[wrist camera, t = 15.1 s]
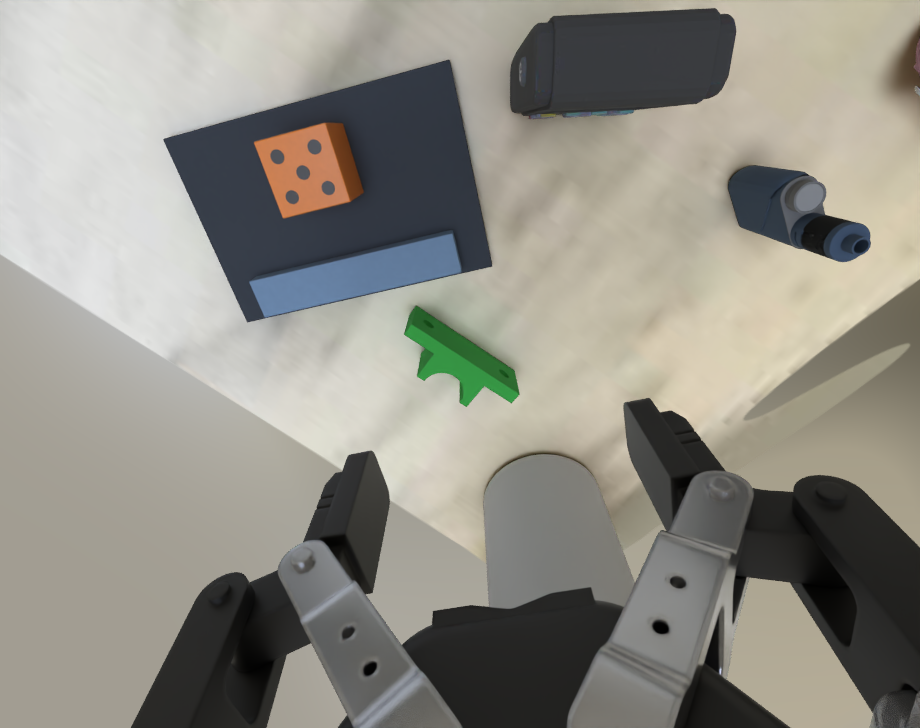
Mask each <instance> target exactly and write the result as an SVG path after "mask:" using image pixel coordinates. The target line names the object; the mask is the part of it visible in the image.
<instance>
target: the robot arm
mask: <svg viewBox="0 0 920 728" xmlns="http://www.w3.org/2000/svg"><path fill="white" fill-rule="evenodd" d="M624 418H625V428H626V438H627V446H628V451H629V455H630V458H631V461H632V463H633V465H634V467H635V469H636V471H637V473H638V475H639V477H640V479H641V481H642V483H643V485H644V487H645V489H646V491H647V493H648V495H649V497H650V499H651V501H652V503H653V505H654V507H655V509H656V511H657V513H658V515H659V517H660V519H661V521H662V523H663V525H664V527H665V529H666V531H664V530H661V531H660V532H659V533H658V535H657V537H656V539H655V541H654V543H653V545H652V548H651V550H650V552H649V554H648V556H647V559H646V561H645V563H644V565H643V567H642V569H641V572H640V574H639V576H638V578H637V580H636V582H635V584H634V587H633V589H632V591H631V593H630V595H629V597H628V600H627V602H626V604H625V606H624V607H623V606H621V605H617V604H614V603H611V602H606V601H599V600H595V599H594V596H593V592H592V589H591V587H587V588H581V589H574V590H568V591H561V592H555V593H550V594H548V595H545V596H543V597H540V598H538V599H535V600H533V601H530V602H528V603H525V604H523V605H520V606H518V607H515V608H512V609H505V608H494V607H484V606H483V607H482V606H473V605H470V606H463V607H457V608H450V609H444V610H437V611H433V619H432V625H431V626H428V627H426V628H425V629H423V630H421V631H419V632H418V633H416V634H415V635H413V636H412V637H410V638H409V639H408V640H407V641H406V642H405V643H403V645H401V644H400V642H399V641H398V639H397V638H396V636H395V635H394V634H393V632H392V631H391V630H390V628H389V627H388V626H387V624H386V622H385V621H384V620H383V618H382V617H381V615H380V614H379V613H378V611H377V610H376V609H375V607H374V606H373V604H372V603H371V602H370V600H369V599H368V598H367V596H366V595H365V594H370V593H373V588H374V583H375V578H376V572H377V567H378V562H379V557H380V552H381V547H382V542H383V536H384V531H385V526H386V521H387V516H388V510H389V504H390V499H389V491H388V487H387V485H386V482H385V479H384V477H383V474H382V472H381V469H380V466H379V464H378V461H377V459H376V456H375V454H374V452H373V451H367V452H361V453H356V454H351V455H349V456H348V457H347V460H346V463H345V465H344V468H343V471H342V472H339V473H335V474H334V475H333V477H332V478H331V479H330V480H329V481H328V482H327V483H326V485H325V487H324V489H323V492H322V494H321V499H320V500H319V502H318V505H317V509H316V510H315V513H314V515H313V518H312V520H311V523H310V526H309V528H308V531H307V534H306V536H305V539H304V541H303V543H301V544H299V545H297V546H295V547H294V548H292V549H291V550H290V551H289V552H288V553H287V554H286V555H285V556H284V557H283V558H282V560H281V562H280V564H279V566H278V570H277V571H275V572H273V573H271V574H268V575H266V576H264V577H261V578H259V579H257V580H254V581H252V582H250V583H249V581H248V579H247V578H246V576H245V575H244V574H242V573H238V572H234V573H229V574H226V575H223V576H221V577H219V578H217V579H216V580H214V581H213V582H211V583H210V584H209V585H208V586H206V587H205V588H204V589H203V590H202V592H201V593H200V594H199V596H198V597H197V599H196V600H195V602H194V604H193V606H192V608H191V610H190V612H189V614H188V616H187V618H186V620H185V622H184V624H183V626H182V628H181V630H180V632H179V634H178V636H177V638H176V640H175V642H174V644H173V646H172V648H171V650H170V651H169V654H168V655H167V658H166V659H165V661H164V663H163V665H162V667H161V669H160V671H159V673H158V675H157V677H156V679H155V681H154V683H153V685H152V687H151V689H150V691H149V693H148V695H147V697H146V699H145V701H144V703H143V705H142V707H141V709H140V711H139V713H138V715H137V717H136V719H135V721H134V723H133V725H132V726H131V728H266V727H267V723H268V720H269V716H270V712H271V709H272V705H273V702H274V698H275V695H276V691H277V688H278V684H279V680H280V677H281V673H282V669H283V666H284V662H285V659H286V655H287V654H289V653H291V652H293V651H295V650H297V649H299V648H301V647H303V646H306V645H308V644H310V643H311V644H312V646H313V648H314V649H315V652H316V654H317V655H318V657H319V659H320V661H321V663H322V665H323V667H324V669H325V671H326V673H327V675H328V677H329V679H330V681H331V683H332V685H333V687H334V689H335V691H336V693H337V695H338V697H339V699H340V701H341V703H342V705H343V707H344V709H345V711H346V713H347V716H346V717H345V719H344V720H343V721H342V723H341V724H340V725H339V727H338V728H790V727H789V726H787V725H786V724H785V723H783V722H782V721H781V720H779V719H778V718H777V717H775V716H774V715H773V714H771V713H770V712H769V711H768V710H766V709H765V708H764V707H762V706H761V705H760V704H758V703H757V702H756V701H754V700H753V699H752V698H750V697H749V696H748V695H746V694H745V693H743V692H742V691H741V690H740V689H738V688H737V687H736V686H734V685H733V684H732V683H730V682H729V681H728V680H726V679H727V675H728V670H729V665H730V659H731V653H732V646H733V640H734V635H735V631H736V627H737V623H738V620H739V615H740V612H741V608H742V604H743V600H744V597H745V593H746V589H747V585H748V582H749V578H750V577H751V578H758V579H759V578H760V579H767V580H775V581H783V582H790V583H791V585H792V587H793V588H794V590H795V591H796V593H797V594H798V596H799V597H800V599H801V600H802V602H803V604H804V605H805V607H806V608H807V610H808V612H809V613H810V615H811V616H812V618H813V620H814V621H815V623H816V624H817V626H818V627H819V629H820V630H821V632H822V634H823V635H824V637H825V638H826V640H827V642H828V643H829V644H830V646H831V648H832V649H833V651H834V653H835V654H836V656H837V657H838V659H839V660H840V662H841V664H842V665H843V667H844V668H845V670H846V671H847V673H848V674H849V676H850V678H851V679H852V681H853V682H854V684H855V686H856V687H857V689H858V690H859V692H860V693H861V695H862V697H863V698H864V700H865V701H866V703H867V704H868V706H869V708H870V709H871V711H872V712H873V716H872V720H871V725H870V728H920V547H919V546H918V545H917V544H916V543H915V542H914V541H913V540H912V539H911V538H910V537H909V536H908V535H907V534H906V533H905V532H904V531H903V530H902V529H901V528H900V527H899V526H898V525H897V524H896V523H895V522H894V521H893V520H892V519H891V518H890V517H889V516H888V515H887V514H886V513H885V512H884V511H883V510H882V509H881V508H880V507H879V506H878V505H877V504H876V503H875V502H874V501H873V500H872V499H871V498H870V497H869V496H868V495H867V494H866V493H865V492H864V491H863V490H862V489H861V488H859V487H858V486H856V485H855V484H853V483H851V482H849V481H846V480H843V479H840V478H837V477H832V476H824V475H815V476H808V477H805V478H802V479H801V480H799V481H798V482H797V483H796V484H795V486H794V490H793V492H784V491H768V490H760V489H755V488H752V486H751V485H750V484H749V483H748V482H747V481H746V480H745V479H743V478H742V477H740V476H738V475H736V474H733V473H730V472H726V471H725V470H724V468H723V467H722V466H721V464H720V463H719V462H718V460H717V459H716V458H715V457H714V455H713V454H712V453H711V451H710V450H709V449H708V447H707V446H706V445H705V443H704V442H703V441H701V438H700V437H699V436H698V434H697V433H696V432H694V429H693V428H692V426H691V425H690V424H689V422H688V421H687V420H686V419H685V418H684V417H682V416H680V415H678V414H676V413H675V412H673V411H666V412H661V413H660V412H659V410H658V409H657V408H656V406H655V405H654V403H653V402H652V400H651V399H650V398H646V399H641V400H635V401H630V402H625V403H624Z"/></svg>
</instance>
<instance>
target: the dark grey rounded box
mask: <svg viewBox="0 0 920 728" xmlns="http://www.w3.org/2000/svg"><path fill="white" fill-rule="evenodd" d="M735 36H736V26H735V21H734V19H733V18H732V17H731V16H730V15H728V14H720V13H719V12H718V10H717V9H716V8H711V9H690V10H670V11H650V12H629V13H609V14H588V15H568V16H553V17H552V18H551V19H550V20H549V21H548V23H538V24H536V25H535V26H534V27H533V29H532V30H531V31H530V33H529V34H528V36H527V37H526V39H525V40H524V42H523V43H522V45H521V46H520V48H519V49H518V51H517V52H516V54H515V56H514V58H513V61H512V64H511V71H510V105H511V110H512V112H514V113H522V115H523V116H529V119H544V118H553V117H555V116H556V114H563V118H566V117H584V116H591V115H597V116H612V115H623V114H628V113H633V112H634V110H639V109H649V108H658V107H668V106H678V105H687V104H697V103H699V102H701V101H702V100H703V99H708V98H711V97H713V96H715V95H717V94H718V93H719V92H720V91H721V90H722V88H723V86H724V84H725V82H726V80H727V78H728V75H729V70H730V64H731V58H732V53H733V47H734V42H735Z"/></svg>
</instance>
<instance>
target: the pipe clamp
mask: <svg viewBox="0 0 920 728" xmlns="http://www.w3.org/2000/svg"><path fill="white" fill-rule="evenodd" d="M404 335H405V336H407V337H409V338H410V339H412V340H413V341H415V342H416V343H418V344H420V345H421V346H423V347H424V348H425V349H424V351H423V352H422V353H421V357H420V362H419V368H418V373H417V377H419V378H420V379H422V380H424V381H425V379H426V378H428V377H429V376H431V375H433V374H436V373H447V374H451V375H453V376H455V377H456V378H457V379H458V380H459V381H460V403H461V404H463V405H464V406H466V407H467V406H468V405H469V403H470V402H471V401H472V400H473V399H474V398H475V396H476V395H477V394H478V393H479V392H480V390H481V389H482V388H483V387H484V386H485V387H487V388H488V389H490V390H492V391H493V392H495V393H496V394H498V395H499V396H501V397H502V398H504V399H506V400H507V401H509V402H510V403H512V402H513V401H514V400H515V399H516V398H517V397H518V395H519V389H518V385H517V380H516V375H515V371H514V370H513V369H511V368H510V367H508V366H507V365H505V364H504V363H502V362H501V361H499V360H498V359H496V358H495V357H493V356H492V355H490V354H488V353H487V352H485V351H484V350H482V349H481V348H479V347H478V346H476V345H475V344H473V343H472V342H470V341H469V340H467V339H466V338H464V337H463V336H461V335H460V334H458V333H457V332H455V331H454V330H452V329H451V328H449V327H448V326H446V325H445V324H443V323H442V322H440V321H439V320H437V319H436V318H434V317H433V316H431V315H430V314H428V313H427V312H425V311H424V310H422V309H421V308H419V307H418V306H416V307H415V308H414V309H413V311H412V312H411V314H410V315H409V318H408V322H407V326H406V329H405V333H404Z"/></svg>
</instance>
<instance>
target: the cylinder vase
mask: <svg viewBox="0 0 920 728" xmlns="http://www.w3.org/2000/svg"><path fill="white" fill-rule="evenodd" d="M483 508H484V526H485V544H486V562H487V580H488V599H489V607H494V608H505V609H512V608H515V607H518V606H520V605H523V604H525V603H528V602H530V601H533V600H535V599H538V598H540V597H543V596H545V595H548V594H550V593H555V592H561V591H568V590H574V589H581V588H587V587H591V589H592V592H593V596H594V599H595V600H599V601H606V602H611V603H614V604H617V605H621V606H623V607H624V606H625V604H626V602H627V600H628V597H629V595H630V593H631V591H632V589H633V587H634V584H635V582H634V579H633V577H632V574H631V571H630V568H629V566H628V563H627V561H626V558H625V555H624V553H623V550H622V547H621V545H620V542H619V539H618V537H617V534H616V531H615V529H614V526H613V523H612V521H611V518H610V515H609V513H608V510H607V508H606V505H605V502H604V500H603V497H602V494H601V492H600V489H599V486H598V484H597V482H596V480H595V478H594V477H593V475H592V474H591V473H590V472H589V471H588V470H587V469H586V468H585V467H584V466H582V465H581V464H579V463H578V462H576V461H574V460H571V459H569V458H566V457H563V456H558V455H550V454H540V455H532V456H527V457H524V458H521V459H518V460H516V461H513V462H512V463H510V464H508V465H506V466H505V467H504V468H502V469H501V470H500V471H499V472H498V473H497V474H496V475H495V476H494V477H493V478H492V480H491V481H490V483H489V484H488V486H487V489H486V491H485V495H484V501H483Z"/></svg>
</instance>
